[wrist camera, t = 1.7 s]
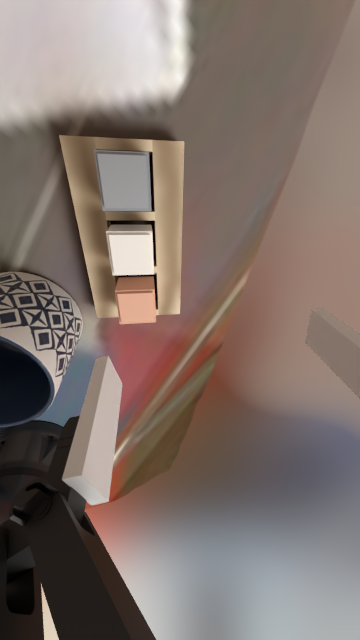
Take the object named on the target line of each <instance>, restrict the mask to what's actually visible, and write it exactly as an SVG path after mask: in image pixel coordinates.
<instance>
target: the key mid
mask: <svg viewBox="0 0 360 640" xmlns="http://www.w3.org/2000/svg"><path fill="white" fill-rule="evenodd" d="M106 235H107V242H108V249H109V256H110V262H111V269H112V276H113V275H150V274H154V258H153V234H152V226H151V225H111V226H110V227H109V228H108V229H107V231H106Z"/></svg>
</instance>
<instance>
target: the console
mask: <svg viewBox="0 0 360 640" xmlns="http://www.w3.org/2000/svg"><path fill="white" fill-rule="evenodd" d="M59 138H60V142H61V147H62V152H63V157H64V161H65V166H66V171H67V176H68V180H69V185H70V190H71V195H72V200H73V204H74V209H75V214H76V219H77V223H78V228H79V233H80V238H81V242H82V247H83V252H84V257H85V262H86V266H87V271H88V276H89V281H90V285H91V290H92V295H93V300H94V304H95V309H96V314H97V318H107V317H119V316H118V309H117V303H116V296H115V288H116V284H117V281H118V275H113V276H112V269H111V262H110V256H109V249H108V242H107V235H106V231H107V229H108V228H109V227H110V226H111V223H110V220H147V221H154V226H155V253H156V260H154V273H156V280H157V301H155V305H156V315H166V314H180V288H181V248H182V209H183V169H184V142H183V141H163V140H144V139H124V138H105V137H85V136H66V135H59ZM94 150H109V151H132V152H149V154H152V172H153V199H154V209H151V211H103V209H102V202H101V195H100V188H99V182H98V175H97V168H96V161H95V155H94Z"/></svg>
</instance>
